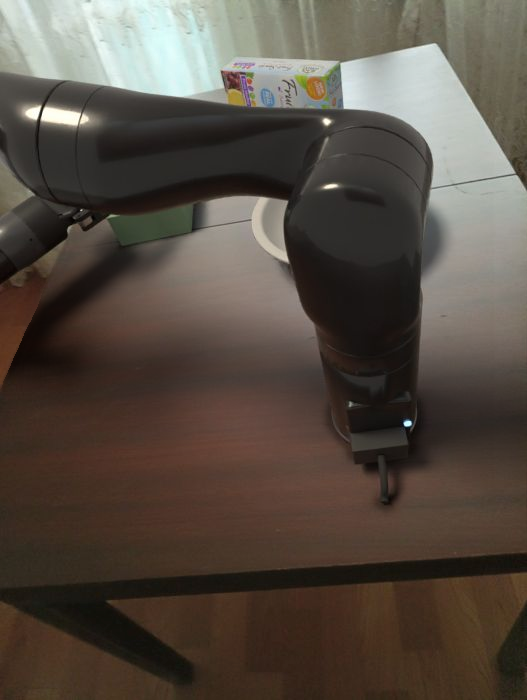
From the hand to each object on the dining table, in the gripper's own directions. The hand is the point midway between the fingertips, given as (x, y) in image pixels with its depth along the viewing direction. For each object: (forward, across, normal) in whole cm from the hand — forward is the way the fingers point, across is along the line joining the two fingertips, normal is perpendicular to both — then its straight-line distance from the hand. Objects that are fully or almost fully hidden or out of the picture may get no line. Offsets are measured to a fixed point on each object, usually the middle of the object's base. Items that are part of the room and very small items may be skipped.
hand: (110, 174), depth 79 cm
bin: (+5, 0, +12) cm, 13 cm away
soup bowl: (+15, -32, +12) cm, 38 cm away
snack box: (+32, -8, +12) cm, 35 cm away
